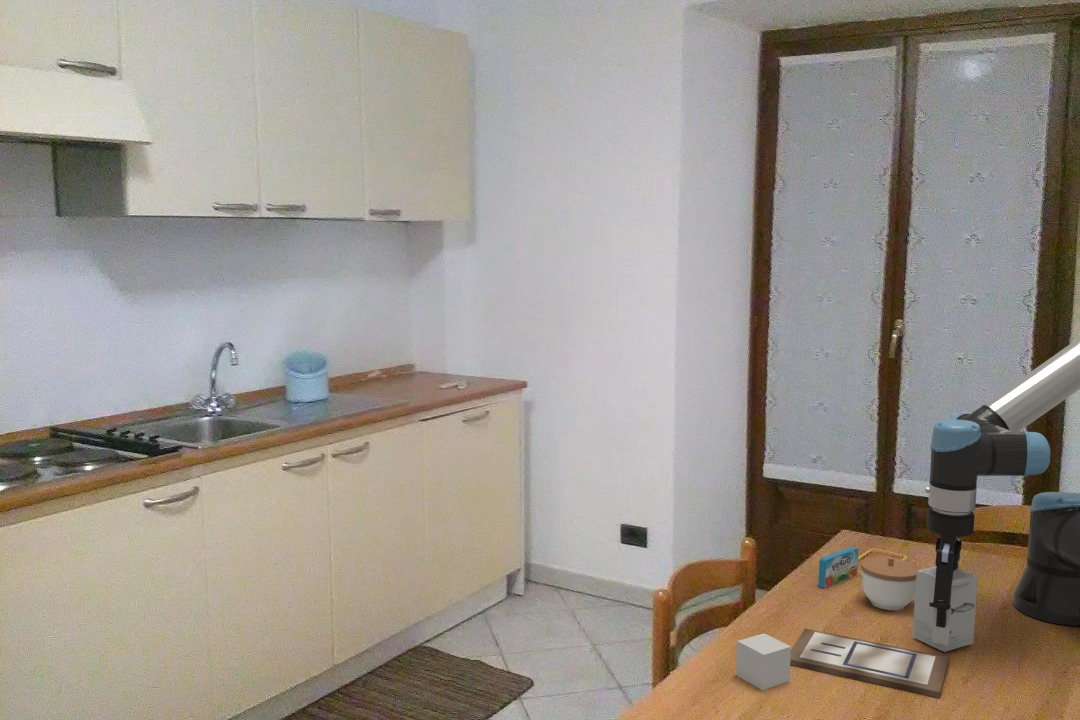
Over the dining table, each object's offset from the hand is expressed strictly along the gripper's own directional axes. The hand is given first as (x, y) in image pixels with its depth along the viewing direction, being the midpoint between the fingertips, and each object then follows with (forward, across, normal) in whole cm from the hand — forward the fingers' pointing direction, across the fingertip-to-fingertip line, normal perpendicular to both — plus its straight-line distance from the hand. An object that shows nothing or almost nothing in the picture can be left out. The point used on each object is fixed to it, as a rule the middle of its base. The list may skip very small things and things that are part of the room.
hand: (943, 631), depth 171 cm
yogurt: (+2, -22, -22) cm, 31 cm away
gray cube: (+2, +29, -24) cm, 38 cm away
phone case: (+3, -36, -17) cm, 40 cm away
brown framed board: (+2, +15, -10) cm, 18 cm away
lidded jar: (+2, -14, -11) cm, 18 cm away
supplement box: (+2, 0, 0) cm, 2 cm away
